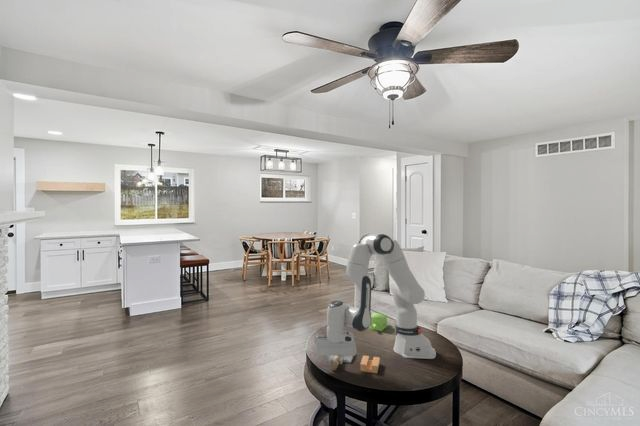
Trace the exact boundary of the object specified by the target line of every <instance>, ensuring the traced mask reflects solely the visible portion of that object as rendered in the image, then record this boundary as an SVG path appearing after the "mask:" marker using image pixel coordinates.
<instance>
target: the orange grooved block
mask: <svg viewBox="0 0 640 426" xmlns="http://www.w3.org/2000/svg"><path fill="white" fill-rule="evenodd" d="M361 357H362V358H361V361H360V363H359V366H360V372H364V373H372V374H378V371H379V367H380V363H381V362H380V359H381V358H380V357H379V356H373V358H372V359H370V356H369V355H364V354H363V355H362V356H361Z"/></svg>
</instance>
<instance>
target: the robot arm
mask: <svg viewBox="0 0 640 426" xmlns="http://www.w3.org/2000/svg"><path fill="white" fill-rule="evenodd" d="M402 249H403V248H402V247H401V246H400V244H399V242H398V241H397V240H396V239H394V238H391V236H389V235H387V234H384V233H381V234H380V233H372V234H366V235H363V236H361V238H360V239H359V241H358V243H357V242H356V243H355V244H353V245H352V246H351V249H350V252H349V255H348V260H347V263H346V269H345V271H346V275H347V277H348V279H349V280H350V281H351V282H352V283H354V284H355V286H357V288H358V291H359V293H358V295H359V296H358V297H359V299H358V307H356V306H352V305H349V304H346V303H344V302H343V301H341V300H334V301H331V302H329V304H328V305H327V309H326V322H327V326H326V334H325V335H324V334H322V335H321V334H318V335H316V336H315V337H314V344H315V348H314V349H315V350H314V353H315V355H316V356H326V359H327V361H328V364H329V365H331V364H332V359H330V355H342V358H341V359H339V364H338V365H343V362H342V361H343V359H344V358H345V355H349V356H354V357H355V356H356V355H357V345H356V342H355V337H354V334H353V332H351V331H349V330H346V329H345V326H348V327H350V328H353V329H355V330H356V331H358V332H364V331H366V330H368V329H369V326H370V325H371V315H372V310H371V306H372V305H371V303H372V302H371V301H372V280H371V278H370V277H369V265H370V259H371V257H372V256H373V255H375V256H376V255H382V257H383V259H384V263H385V265H386V268H387V271H388V274H389V275H390V277H391V279H392V280H391V282H390V284H389V288H390V292H391V294H392V296H393V300H394V307H395V312H396V313H395V315H396V316H395V317H396V318H395V319H396V321H395V323H396V324H395V325H394V327H395V331H394V333H395V340H394V346H393V349H392V351H393V352H395V353H396V354H397V355H400V356H402V357H403V358H405V359H424V360H425V359H427V360H434V359H435V358H436V356H437V351H436V349H435V348H433V346H432V343H431V341H430V339H429V338H427V337H426V336H425V335H424V334H423V331H422V329H421V326H420V325H418V312H417V310H416V307H415V305H419V304H421V303H422V302H423V301H424V300H425V297H426V293H425V289H424V288H423V287H422V286H421V285H420V283H419V282H418V280H417V278H416V277H415V275H414V274H413V272H412V270H411V269H410V267H409V264H408V262H407V259H406V256H405V254H404V251H403V250H402Z"/></svg>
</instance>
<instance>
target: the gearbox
mask: <svg viewBox="0 0 640 426" xmlns="http://www.w3.org/2000/svg"><path fill="white" fill-rule="evenodd" d="M387 326H388V317H387V314H383V313H378V312H374V313H373V314H371V325H370V326H369V328H368V329H369V330H371V331H379V332H382V331H383V330H385V329H386V328H387Z"/></svg>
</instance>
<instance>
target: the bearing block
mask: <svg viewBox="0 0 640 426" xmlns="http://www.w3.org/2000/svg"><path fill="white" fill-rule="evenodd" d="M334 356H335V355H330V359H332V361H333V359H334ZM354 357H355V356H349V355H345V358H344V359H343V361H342V363H348V364H351V363H352V361H353V359H354ZM341 358H342V356H341Z"/></svg>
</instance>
